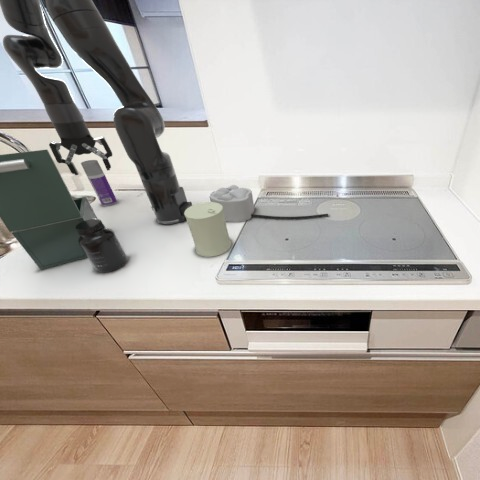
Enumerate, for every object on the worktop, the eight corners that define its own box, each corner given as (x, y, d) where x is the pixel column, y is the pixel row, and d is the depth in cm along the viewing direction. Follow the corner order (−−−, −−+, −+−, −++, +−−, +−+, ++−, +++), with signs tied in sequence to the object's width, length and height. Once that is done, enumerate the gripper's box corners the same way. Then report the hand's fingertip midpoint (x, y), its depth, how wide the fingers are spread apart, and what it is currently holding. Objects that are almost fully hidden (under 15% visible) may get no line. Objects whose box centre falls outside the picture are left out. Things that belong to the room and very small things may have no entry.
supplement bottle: (108, 255, 69) (85, 215, 62) (134, 256, 69) (113, 216, 62) (88, 273, 63) (61, 231, 56) (116, 273, 63) (92, 231, 56)
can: (216, 260, 67) (205, 219, 61) (188, 252, 70) (174, 213, 63) (237, 241, 75) (229, 203, 68) (211, 235, 77) (201, 197, 70)
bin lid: (-37, 159, 52) (-51, 160, 48) (47, 149, 57) (40, 149, 53) (10, 231, 58) (1, 237, 54) (81, 215, 64) (78, 220, 60)
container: (120, 200, 96) (101, 159, 88) (110, 206, 92) (89, 164, 84) (108, 200, 96) (88, 159, 88) (98, 205, 93) (76, 164, 84)
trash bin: (49, 242, 74) (25, 208, 68) (103, 228, 80) (85, 196, 74) (40, 270, 64) (11, 233, 58) (103, 252, 70) (82, 217, 64)
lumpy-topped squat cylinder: (249, 221, 84) (244, 196, 79) (208, 221, 84) (202, 196, 79) (256, 206, 92) (252, 183, 87) (219, 206, 92) (214, 183, 88)
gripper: (33, 124, 73) (65, 179, 82) (96, 119, 79) (119, 171, 88) (38, 119, 78) (67, 172, 87) (96, 115, 84) (118, 165, 94)
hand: (93, 172), depth 88 cm, fingers open, 8 cm apart
